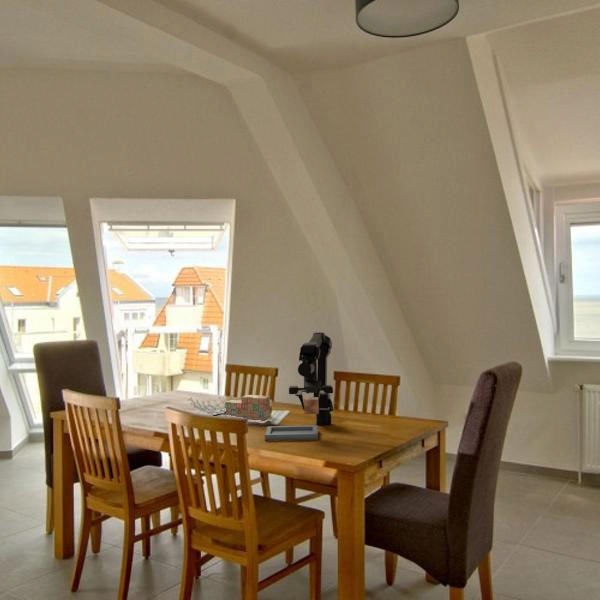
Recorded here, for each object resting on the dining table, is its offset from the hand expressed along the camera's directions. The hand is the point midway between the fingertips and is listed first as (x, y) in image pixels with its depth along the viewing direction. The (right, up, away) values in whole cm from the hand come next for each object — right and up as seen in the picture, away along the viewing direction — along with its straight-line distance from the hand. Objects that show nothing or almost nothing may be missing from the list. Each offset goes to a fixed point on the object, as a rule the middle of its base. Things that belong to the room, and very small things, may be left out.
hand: (311, 409), depth 254 cm
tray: (-8, -11, 0) cm, 14 cm away
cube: (0, -1, 0) cm, 1 cm away
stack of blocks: (-30, -12, +33) cm, 46 cm away
